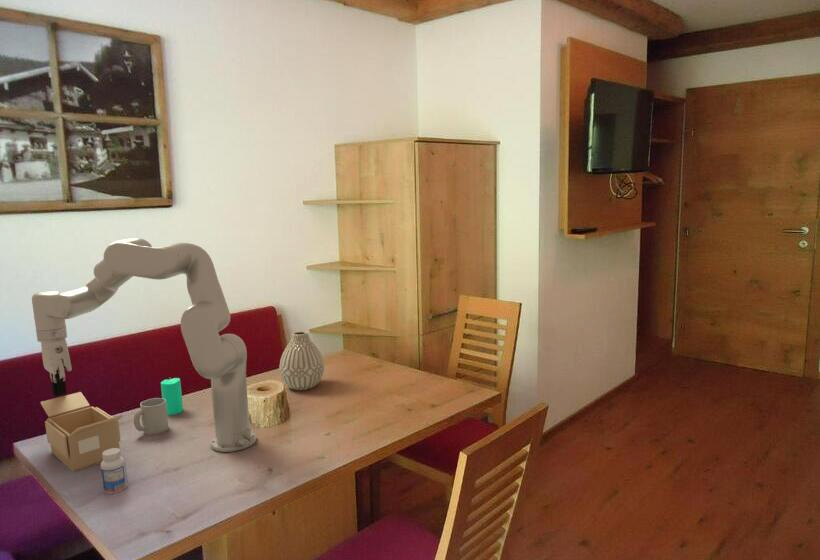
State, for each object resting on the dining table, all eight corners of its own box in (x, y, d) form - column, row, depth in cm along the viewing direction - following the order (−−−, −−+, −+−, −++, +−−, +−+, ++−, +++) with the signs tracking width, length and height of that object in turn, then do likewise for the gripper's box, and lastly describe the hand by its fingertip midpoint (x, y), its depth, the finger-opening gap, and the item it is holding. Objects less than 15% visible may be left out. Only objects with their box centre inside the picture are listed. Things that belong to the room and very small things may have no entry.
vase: (321, 393, 212) (318, 338, 209) (276, 394, 212) (272, 339, 209) (328, 378, 228) (325, 326, 224) (286, 379, 228) (282, 328, 225)
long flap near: (114, 422, 165) (122, 416, 160) (71, 435, 157) (78, 429, 153) (114, 420, 165) (122, 415, 160) (71, 433, 158) (78, 427, 153)
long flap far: (89, 405, 178) (80, 391, 182) (48, 416, 170) (40, 401, 174) (89, 406, 178) (80, 393, 182) (48, 417, 171) (40, 403, 175)
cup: (173, 428, 185) (170, 401, 184) (141, 440, 178) (138, 411, 176) (160, 423, 190) (158, 396, 188) (129, 434, 182) (126, 406, 181)
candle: (186, 408, 202) (183, 373, 200) (177, 414, 196) (174, 379, 195) (169, 407, 203) (165, 373, 201) (160, 414, 197) (156, 379, 195)
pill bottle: (109, 483, 152) (104, 447, 150) (131, 482, 152) (127, 445, 151) (99, 494, 147) (95, 457, 145) (123, 493, 147) (118, 455, 145)
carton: (123, 455, 168) (119, 420, 166) (70, 473, 158) (65, 437, 157) (99, 437, 181) (95, 405, 179) (48, 453, 171) (43, 419, 169)
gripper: (74, 335, 173) (82, 396, 176) (57, 327, 184) (65, 385, 187) (45, 340, 168) (53, 403, 171) (29, 332, 178) (37, 392, 181)
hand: (59, 394), depth 179 cm, fingers closed
